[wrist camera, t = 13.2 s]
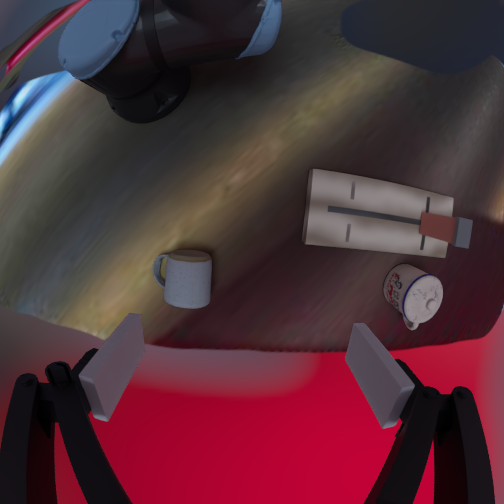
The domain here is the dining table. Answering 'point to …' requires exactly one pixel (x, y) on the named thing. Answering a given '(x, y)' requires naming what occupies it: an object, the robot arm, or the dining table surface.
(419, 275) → the teacup with lid
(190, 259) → the ceramic mug
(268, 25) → the robot arm
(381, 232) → the panel
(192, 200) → the dining table surface
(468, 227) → the fader tab
